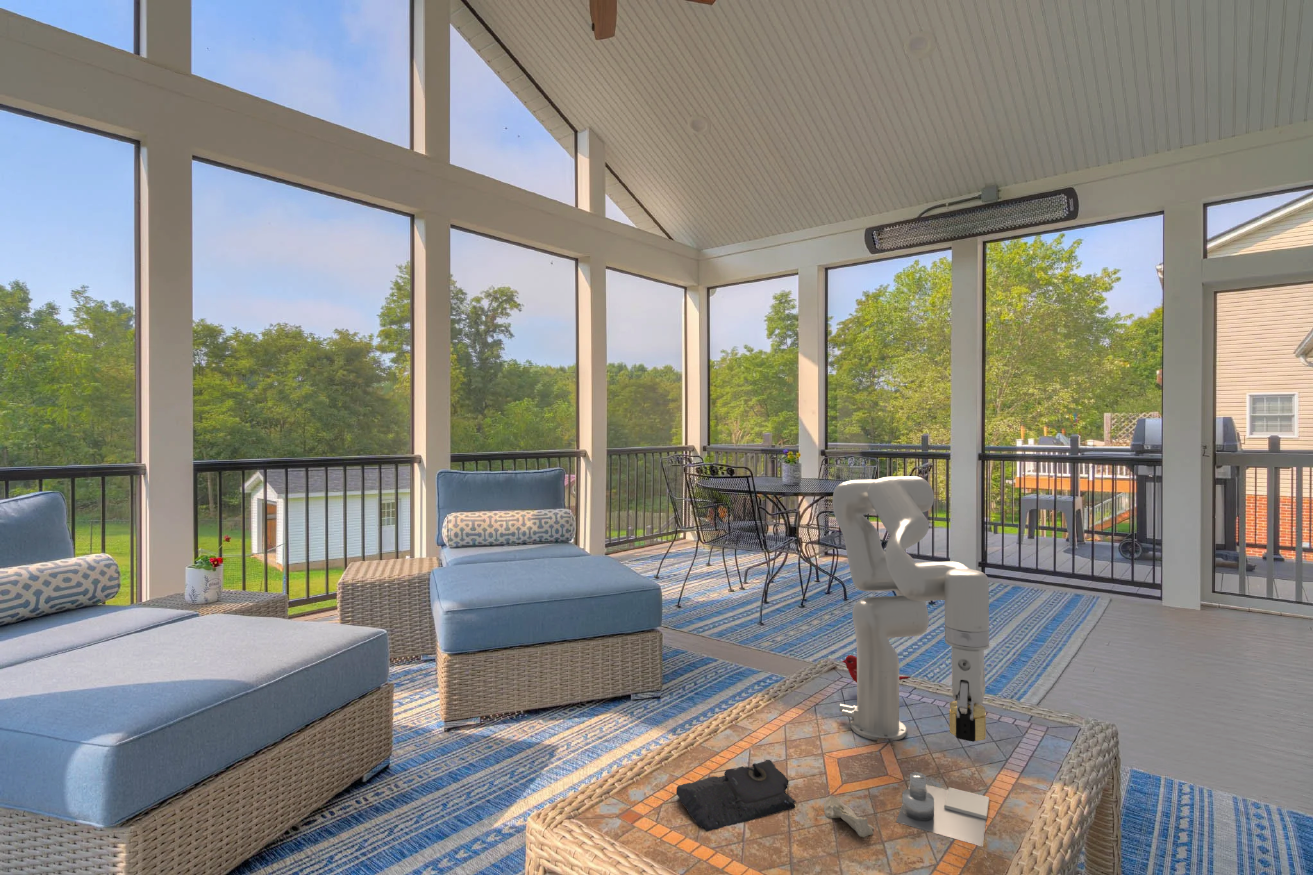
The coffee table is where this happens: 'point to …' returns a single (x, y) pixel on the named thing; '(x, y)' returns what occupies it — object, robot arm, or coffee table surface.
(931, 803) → the grey knob
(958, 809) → the pad
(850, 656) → the decorative bird figurine
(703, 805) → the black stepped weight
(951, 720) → the gold lidded jar
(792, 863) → the coffee table surface
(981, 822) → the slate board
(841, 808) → the beige bone fragment
